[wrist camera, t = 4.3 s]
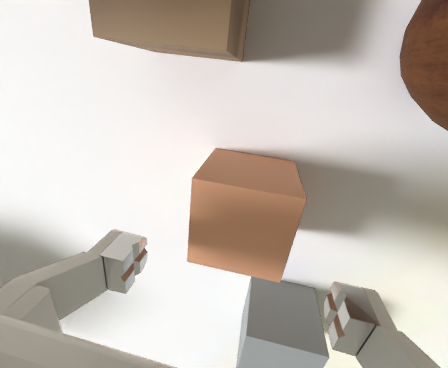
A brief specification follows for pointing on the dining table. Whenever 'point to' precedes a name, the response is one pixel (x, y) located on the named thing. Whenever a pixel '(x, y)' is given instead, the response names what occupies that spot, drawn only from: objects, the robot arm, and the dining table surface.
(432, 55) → the wooden figurine
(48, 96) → the dining table surface
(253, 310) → the slate grey block
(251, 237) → the terracotta block
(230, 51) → the walnut block
